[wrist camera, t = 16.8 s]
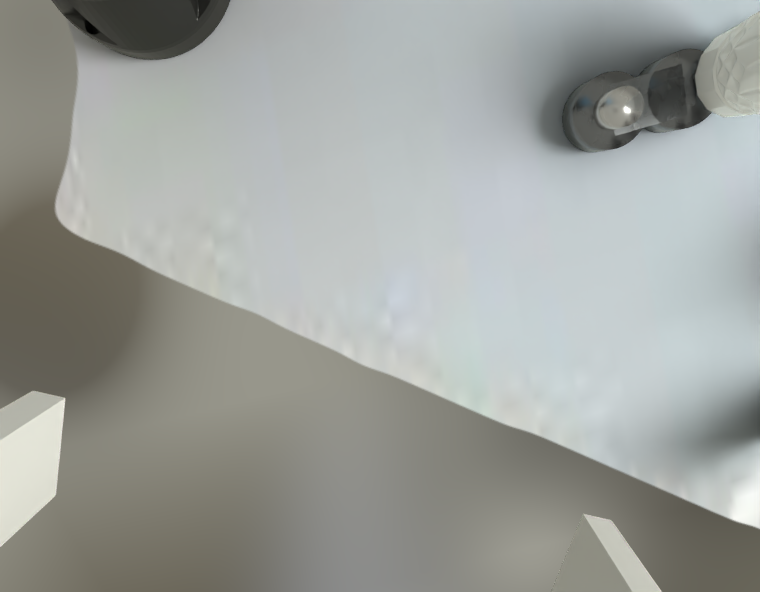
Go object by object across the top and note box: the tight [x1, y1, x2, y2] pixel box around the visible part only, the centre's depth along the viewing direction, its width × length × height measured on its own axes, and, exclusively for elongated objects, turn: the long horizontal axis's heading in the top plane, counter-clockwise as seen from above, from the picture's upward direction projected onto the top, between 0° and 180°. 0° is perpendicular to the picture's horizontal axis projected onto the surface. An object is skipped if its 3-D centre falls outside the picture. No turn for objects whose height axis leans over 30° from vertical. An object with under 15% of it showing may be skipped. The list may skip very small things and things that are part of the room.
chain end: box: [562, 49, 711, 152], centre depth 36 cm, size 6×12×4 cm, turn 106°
